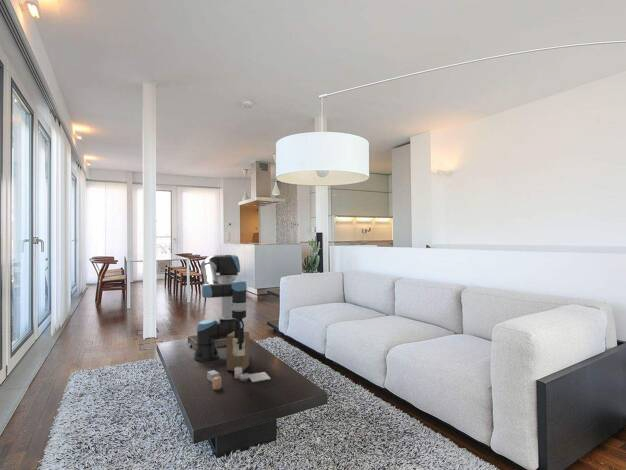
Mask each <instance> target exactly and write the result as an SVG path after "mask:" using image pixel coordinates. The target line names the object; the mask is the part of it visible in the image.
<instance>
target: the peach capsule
mask: <svg viewBox="0 0 626 470" xmlns="http://www.w3.org/2000/svg"><path fill="white" fill-rule="evenodd" d="M211 383H212V390H215V391H218V390H221V389H222V387H223V386H222V383H223V381H222V376H221V375H219V376H217V377H213V378H212V382H211Z"/></svg>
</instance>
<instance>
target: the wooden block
mask: <svg viewBox="0 0 626 470" xmlns="http://www.w3.org/2000/svg"><path fill="white" fill-rule="evenodd" d="M234 336H235V331H234V332H232V333H230V334H229V335H227V346H226V371H234V372H235V367H242V372H244V371H245V370H246V369H248V367H249V366H250V332H249V331H244V339H245V355H244V356H235V357H234V355H233V338H235V337H234Z"/></svg>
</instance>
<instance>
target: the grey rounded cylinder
mask: <svg viewBox="0 0 626 470" xmlns="http://www.w3.org/2000/svg"><path fill="white" fill-rule="evenodd" d="M241 373H243V371H242V367H235V371H234V378H235V379H236V380H237V379H238V380H239V374H241Z"/></svg>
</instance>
